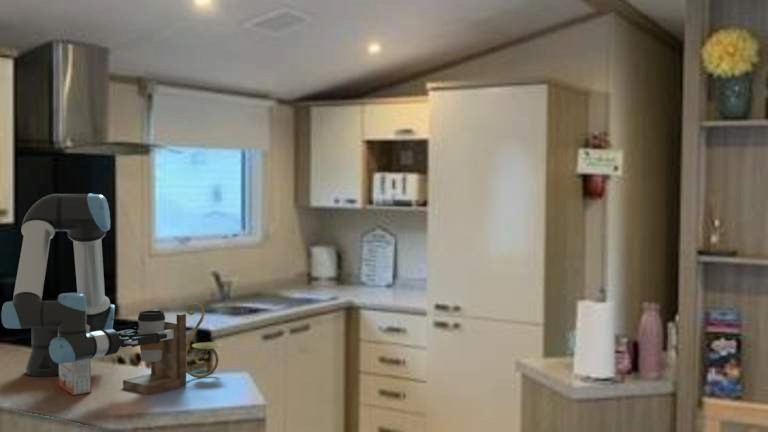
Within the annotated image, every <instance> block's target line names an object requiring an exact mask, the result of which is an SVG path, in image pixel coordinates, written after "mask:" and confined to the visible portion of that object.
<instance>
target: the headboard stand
mask: <svg viewBox="0 0 768 432" xmlns="http://www.w3.org/2000/svg"><path fill="white" fill-rule="evenodd" d="M152 310H153V309H151V310H150V311H152ZM156 310H157V311H161V310H160V309H156ZM171 329H173V330H174V338H172V339H167V340H164V343H163V354H162V358H161V360H160V361H156V362H150V373H148V374H147V373H146V374H144V375H139V376H134V377H130V378H126V379H122V389H126V388H127V389H126V390H130V389H131V391H134V390H135V391H134V392H138V391H139V393H142V392H143V393H142V394H146V393H147V394H146V395H150V396H154V395H158V394H162V393H165V392H170V391H174V390H177V389H181V388H185V387H187V372H186V344H187V314H186V313H178V314H176V321H172V320H168V319H167V320H166V319H165V322H164V331H166V330H171Z"/></svg>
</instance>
